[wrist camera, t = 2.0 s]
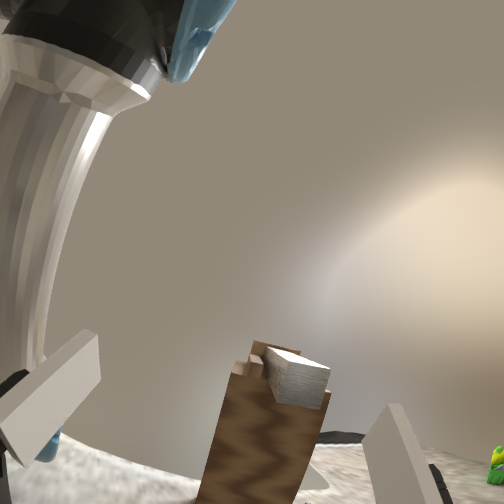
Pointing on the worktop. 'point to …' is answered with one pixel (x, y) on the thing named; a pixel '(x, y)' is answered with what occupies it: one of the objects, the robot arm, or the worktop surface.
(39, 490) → the worktop surface
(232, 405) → the column
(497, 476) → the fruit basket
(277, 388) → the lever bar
